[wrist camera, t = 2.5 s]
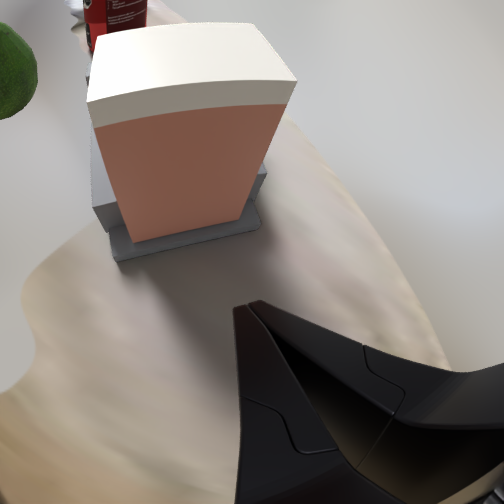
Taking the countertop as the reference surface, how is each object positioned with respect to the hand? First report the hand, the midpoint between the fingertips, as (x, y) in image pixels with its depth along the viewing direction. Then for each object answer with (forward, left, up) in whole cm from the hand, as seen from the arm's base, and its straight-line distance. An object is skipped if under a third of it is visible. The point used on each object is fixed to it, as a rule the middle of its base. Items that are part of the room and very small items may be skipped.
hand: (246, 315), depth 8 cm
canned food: (+36, +4, -10) cm, 38 cm away
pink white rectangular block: (+9, 0, -9) cm, 13 cm away
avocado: (+26, +16, -10) cm, 32 cm away
